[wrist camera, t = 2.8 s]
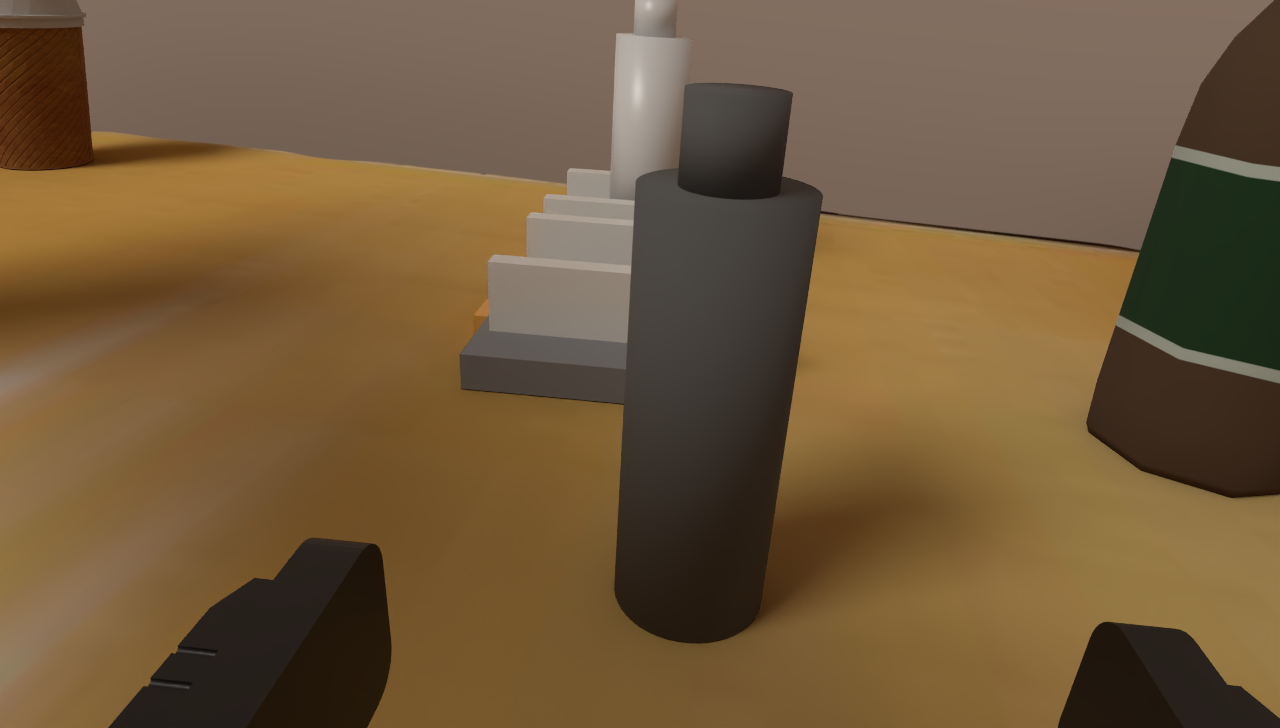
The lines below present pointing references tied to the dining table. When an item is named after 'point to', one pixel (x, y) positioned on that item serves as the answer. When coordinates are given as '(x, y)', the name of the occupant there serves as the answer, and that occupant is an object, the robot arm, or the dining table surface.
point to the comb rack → (559, 301)
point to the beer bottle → (1208, 292)
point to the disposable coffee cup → (43, 86)
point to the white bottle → (648, 96)
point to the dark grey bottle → (711, 364)
